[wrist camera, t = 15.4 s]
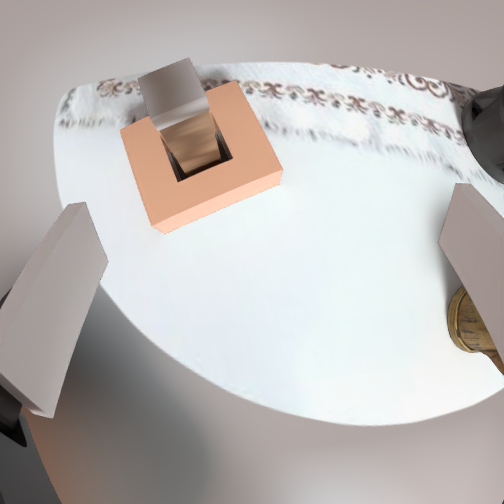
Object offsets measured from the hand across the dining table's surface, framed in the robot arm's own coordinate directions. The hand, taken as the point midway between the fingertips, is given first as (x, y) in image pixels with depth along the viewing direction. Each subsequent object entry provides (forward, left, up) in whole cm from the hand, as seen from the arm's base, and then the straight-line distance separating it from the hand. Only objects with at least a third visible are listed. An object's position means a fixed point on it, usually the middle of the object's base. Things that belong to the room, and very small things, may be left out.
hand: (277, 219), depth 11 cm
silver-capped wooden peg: (+1, -14, -25) cm, 28 cm away
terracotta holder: (+1, -14, -25) cm, 28 cm away
